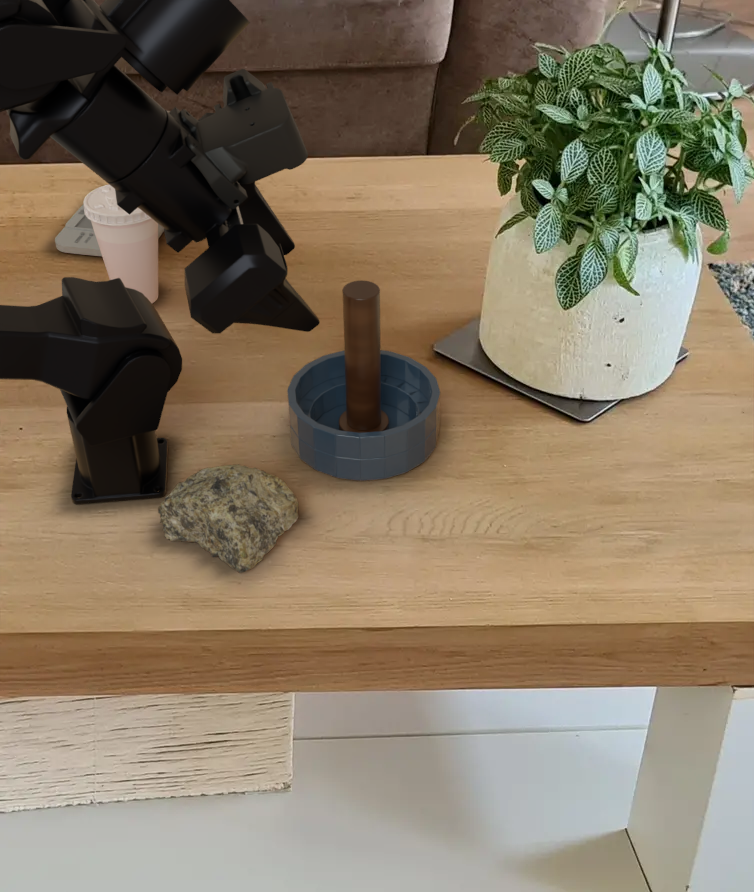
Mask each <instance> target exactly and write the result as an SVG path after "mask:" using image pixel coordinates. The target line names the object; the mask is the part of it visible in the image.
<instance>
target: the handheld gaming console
mask: <svg viewBox="0 0 754 892" xmlns="http://www.w3.org/2000/svg"><path fill="white" fill-rule="evenodd" d="M166 111H167V112H168V113H169V112H170V111H171V110H166ZM163 233H165V232H164V228H163V227H162V226H161V225H159V224H158V240H159V238H160V237H161V236H162V234H163ZM54 243H55V248H56V249H57V250H58V251H59V252H60V253H61V252H62V253H65V254H67V253H68V254H75V255H86V256H93V257H94V256H95V257H102V254H101V251H100V248H99V245H98V242H97V238H96V235H95V233H94V229H93V226H92V223H91V220H90V219H88V218H87V217H86V215H85V212H84V203H82V205H81V206H80V207H79V208H77V210H76V211H75V213H74V214H73V215H72V216H71V217H70V218H69V219H68V220H67V222H66V223H65V226H64V227H63V228H62V229H61V230H60V231H59V233H58V234H57V235H55V238H54Z"/></svg>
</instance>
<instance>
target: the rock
mask: <svg viewBox="0 0 754 892" xmlns="http://www.w3.org/2000/svg"><path fill="white" fill-rule="evenodd" d="M157 513H158V514H159V517H160V521H159V524H162V531H163V533H164V537H165V538H166V540H169V541H171V542H189V543H197V544H198V545H199V546H200V547H201V548H202V549H203V550H204V551H206V552H209V554H210V556H211V557H212V558H217V557H218V559H219V560H220V561H222V562H224V563H225V564H226V565H228V566H229V568H231V569H233V570H234V571H236V572H237V573H239V574H241V573H245V572H247V571H249V570H251V569H253V568H254V567H255V566H256V565H258V563H259V562H261V561H263V560H264V556H265V555H268V553H270V551H271V550H272V549H273V548H274V547H275V546H276V544H277V540H278V538H279V537H281V536H282V535H284V534H285V532H286V531H289V530H290V528H291V527H292V526H293V524H295V523H296V522H297V521H298V518H299V502H298V499H297V496H296V495H295V493H294V492H293V490H292V489H291V488H289V487H288V484H287V483H286V482H285V481H284V480H282V478H280V477H278V476H277V475H274V474H270V473H269V472H266V471H264V470H262V469H260V468H258V467H249V466H247V465H241V464H240V463H239V464H238V463H237V464H226V465H225V464H224V465H220V466H219V465H217V466H212V467H206V468H202V469H200V470H198V471H197V472H195V473H194V474H191V475H190V476H188V477H186V479H185V480H184V481H180V482H178V483H177V484H176V485H175V486H174V488H173V489H172V490H171V492H170V493H169V494H168V495H167V496H165V497H164V500H163V501H161V502H160V503H159V506H158V508H157Z"/></svg>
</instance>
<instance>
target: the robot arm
mask: <svg viewBox="0 0 754 892" xmlns="http://www.w3.org/2000/svg"><path fill="white" fill-rule="evenodd" d="M250 24H251V22H250V20H249V19H248V18H247V17H246V16H245V15H244V13H242V12H241V10H240V9H238V7H237V6H236V5H234V3H233V2H232V1H231V0H104V1H103V2H102V3H101V4H100V5H99V4H98V3H97V2H96V0H0V113H2V112H6V114H7V116H8V117H9V125H10V126H9V127H10V129H9V137H10V138H11V139H10V140H11V141H12V143H13V146H14V148H15V150H16V153H17V155H18V157H19V158H20V159H21V160H24V161H28V160H30V159H32V157H33V156H34V155H35V154H36V153H37V152H38V151H39V150H40V148H42V146H43V145H45V143H46V142H47V141H48V140H49V139H52V140H53V141H54V142H56V143H57V144H58V145H59V146H60V147H62V148H63V149H64V150H66V151H67V152H68V153H69V154H71V155H72V156H73V157H74V158H76V159H77V160H78V161H79V162H80V163H82V164H83V165H84V166H86V167H87V168H88V169H90V170H91V171H92V172H93V173H94V174H96V175H97V176H98V177H99V178H100V179H102V180H103V181H104V182H106V183H107V185H108V184H109V185H111V186H112V187H113V188H114V189H115V193H116V200H117V205H118V206H119V207H121V208H122V209H123V210H124V211H126V212H127V213H128V214H129V215H130V214H131V213H132V212H133V211H134V210H135V209H136V208H139V209H141V210H142V211H143V212H144V213H146V214H147V215H148V216H149V217H151V218H152V219H153V220H154V221H156V222H157V223H158V224H159V225H161V226H162V227H163V228H164V232H163V233H164V238H165V243H166V245H167V246H168V247H170V248H171V249H172V250H174V251H175V252H176V253H177V254H179V253H180V252H181V251H183V250H184V249H185V248H186V247H188V245H190V244H191V243H192V242H194V243H196V244H197V243H200V242H203V241H204V240H206V243H207V247H208V248H206V249H205V250H204V251H203V252H202V253H200V254H199V256H197V257H196V258H195V259H194V260H192V261H191V262H190V263H189V264H188V265H187V266H185V267H184V290H185V294H186V295H185V296H186V299H187V304H188V310H189V314H190V318H191V319H192V320H194V322H196V323H198V324H199V325H200V326H202V327H203V328H204V329H205V330H207V332H210V333H211V334H214V335H215V334H222V333H223V332H224V331H225V330H226V329H228V328H229V327H231V326H232V325H233V324H246V325H249V324H250V325H259V326H267V327H273V328H279V329H287V330H293V331H300V332H306V333H310V332H312V330H314V329H315V328H316V327H318V326H319V325H320V319H319V317H318V316H317V315H316V313H315V312H314V310H312V308H311V307H310V305H308V303H307V302H306V301H305V299H304V298H303V297H302V296H301V295H300V294H299V292H298V291H297V290H296V289H295V288H294V287H293V285H292V284H291V283H290V282H289V281H288V280H287V276H288V264H287V261H286V257H285V256H288V254H290V253H291V252H292V251H293V250H294V249H295V248H296V244H295V242H294V240H293V239H292V237H291V236H290V234H289V233H288V231H287V230H286V228H285V227H284V224H283V223H282V222H281V221H280V220H279V218H278V217H277V215H276V213H275V212H274V211H273V209H272V207H271V206H270V205H269V203H268V201H267V200H266V199H265V197H264V196H263V194H262V193H261V191H260V189H259V187H258V186H257V184H256V182H258V181H261V180H262V179H265V178H268V177H270V176H272V175H275V174H277V173H279V172H282V171H284V170H290V171H291V170H294V169H296V168H298V167H300V166H301V165H303V164H304V163H305V162H306V161H307V159H308V157H309V152H308V150H307V148H306V145H305V142H304V140H303V137H302V135H301V131H300V129H299V127H298V125H297V122H296V120H295V118H294V115H293V114H292V111H291V108H290V106H289V103H288V101H287V100H286V96H285V95H284V93H283V91H282V90H281V89H280V88H278V87H275V85H274V84H273V82H272V81H270V82H267V83H266V84H264V83H263V82H262V81H261V80H259V79H258V78H257V77H256V76H254V75H253V74H252V73H251V72H249V71H248V70H247V69H246V68H240V69H238V70H236V71H234V72H231V73H229V74H226V75H224V77H223V87H222V88H223V89H222V102H223V107H222V106H221V104H220V103H218V104H215V105H214V106H213V109H214V112H206V113H204V114H203V115H202V116H200V118H198V119H197V118H196V117H194V116H193V115H192V113H190V112H189V111H187V110H186V109H185V108H182V109H181V110H180V109H179V108H177V106H174V107H173V108H172V109H170V110H169V111H170V112H169V113H168V112H167V111H168V110H166V109H165V108H164V107H163V106H162V105H160V103H158V101H156V100H155V99H154V98H153V97H152V96H150V94H148V93H147V92H146V91H145V90H144V89H143V88H142V87H141V86H140V85H138V84H137V83H136V82H135V81H134V80H133V79H131V77H129V75H127V74H126V73H125V72H124V71H122V70H121V68H119V67H118V66H117V65H116V64H117V63H118V62H119V60H120V59H121V58H122V59H123V60H124V62H126V63H128V65H130V67H131V68H133V69H134V70H135V72H137V73H138V74H139V75H140V76H141V77H142V78H143V79H144V80H145V81H146V82H147V83H149V84H150V85H151V86H152V87H153V88H155V89H156V90H157V91H158V92H160V93H163V92H164V91H165V90H166V89H167V88H168V89H169V90H171V92H172V93H174V94H175V95H179V94H180V93H181V92H182V91H183V90H184V91H185V92H188V91H189V90H190V89H191V88H192V87H193V85H194V84H196V83H197V82H198V80H199V79H200V78H202V76H203V75H204V74H205V73H206V72H207V70H208V69H209V68H210V67H212V65H213V64H214V63H215V62H216V61H217V60H218V59H219V57H220V56H221V55H222V54H223V53H224V52H225V51H226V50H227V49H228V48H229V47H230V45H232V43H233V42H234V41H235V40H236V39H237V38H238V36H239V35H241V33H242V32H243V31H245V29H246V28H247V27H248V26H249V25H250ZM265 85H266V86H265ZM182 370H183V357H182V354H181V351H180V348H179V346H178V344H177V343H176V341H175V339H174V338H173V335H171V333H170V330H168V327H167V326H166V325H165V322H164V321H163V319H162V317H161V315H160V313H159V312H158V310H157V309H156V307H155V305H154V304H153V303H151V302H150V301H149V300H148V298H147V297H145V296H144V294H143V293H141V292H139V291H137V290H135V289H131V288H126V287H125V286H124V284H123V282H122V280H121V279H120V278H116V279H113V280H110V279H109V280H102V281H101V280H100V281H94V280H88V279H85V278H80V277H74V276H64V277H62V279H61V295H60V296H58V297H55V298H53V299H50V300H48V301H44V302H43V303H40V304H37V305H29V306H28V305H27V306H26V305H7V304H0V380H9V381H11V380H15V381H22V380H23V381H36V382H40V383H44V384H46V385H49V386H51V387H54V388H56V389H58V390H60V393H61V395H62V397H63V399H64V402H65V405H66V416H67V421H68V426H69V430H70V435H71V440H72V444H73V448H74V453H75V458H76V459H75V464H74V472H73V477H72V478H73V479H72V485H71V486H72V488H71V494H70V499H71V502H72V504H74V505H86V504H88V505H89V504H101V503H113V502H123V501H136V500H137V501H138V500H147V499H159V498H162V497H164V496H165V495H167V478H168V477H167V475H168V455H169V453H168V450H169V444H168V439H167V438H166V437H157V430H158V429H159V427H160V422H161V418H162V415H163V412H164V408H165V403H166V399H167V396H168V394H169V392H171V390H172V389H173V387H174V386H175V385H176V384H177V383H178V380H179V378H180V376H181V373H182Z"/></svg>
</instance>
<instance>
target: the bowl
mask: <svg viewBox="0 0 754 892" xmlns="http://www.w3.org/2000/svg"><path fill="white" fill-rule="evenodd" d="M380 350H381V410H382V411H384V412H385V413H386V414H387V416H388V418H389V429H388V430H384V431H377V432H363V433H358V432H349V431H341V430H339V418H340V416H341V415H342V413H344V412H345V411H346V383H345V352H344V349H343V350H339V351H336V352H332V353H327V354H324V355H322V356H320V357H318V358H316V359H314V360H311V361H310V362H307V363H306V364H304V365H303V366H302V367H301V368H300V369H299V370H298V371H297V372H296V373H294V375H293V376H292V378H291V380H290V382H289V385H288V387H287V390H286V392H287V393H286V394H287V405H288V408H287V409H288V421H289V422H288V423H289V434H290V436H289V437H290V444H291V447H292V449H293V450H294V452H295V453H296V455H297V456H298V458H299V459H300V460H301V461H302V462H304V463H305V464H306V465H307V466H309V467H311V468H312V469H313V470H315V471H317V472H320V473H322V474H325V475H327V476H331V477H333V478H337V479H343V480H349V481H359V482H360V481H361V482H362V481H363V482H364V481H365V482H366V481H377V480H386V479H390V478H393V477H395V476H399V475H403V474H406V473H409V472H410V471H411V470H413V469H415V468H416V467H418V466H420V465H422V464H423V463H425V462H426V460H427V459H428V458H430V455H431V454H432V453H433V452H434V451H435V450H436V448H437V445H438V440H439V436H440V413H441V412H440V411H441V390H440V387H439V382H438V379H437V378H436V376H435V375H434V374H433V373H432V372H431V371H430V369H429V368H428V367H427V366H425V365H424V364H422V363H421V362H418V360H416V359H414V358H412V357H410V356H408V355H404V354H400V353H397V352H395V351H391V350H386V349H385V350H384V349H380Z"/></svg>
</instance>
